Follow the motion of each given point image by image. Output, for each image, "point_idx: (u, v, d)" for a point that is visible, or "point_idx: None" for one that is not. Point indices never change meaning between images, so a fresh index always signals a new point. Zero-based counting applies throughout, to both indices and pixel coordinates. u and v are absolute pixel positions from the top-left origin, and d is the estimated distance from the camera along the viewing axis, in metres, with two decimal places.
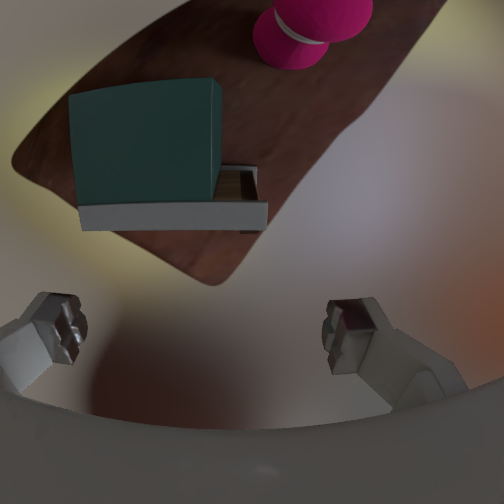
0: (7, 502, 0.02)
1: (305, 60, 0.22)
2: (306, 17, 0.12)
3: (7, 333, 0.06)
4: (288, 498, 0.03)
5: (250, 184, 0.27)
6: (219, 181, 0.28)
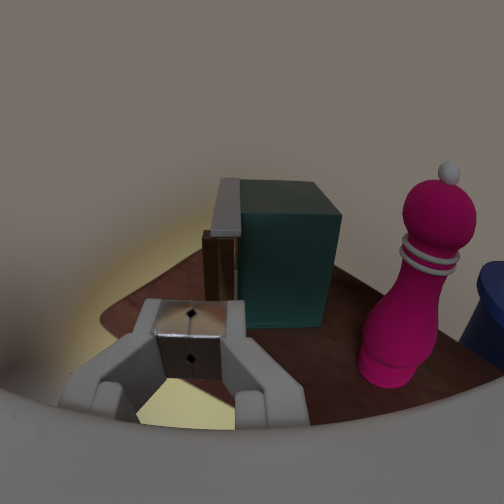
0: (7, 502, 0.02)
1: (384, 323, 0.22)
2: (414, 187, 0.19)
3: (126, 352, 0.06)
4: (288, 498, 0.03)
5: None
6: None
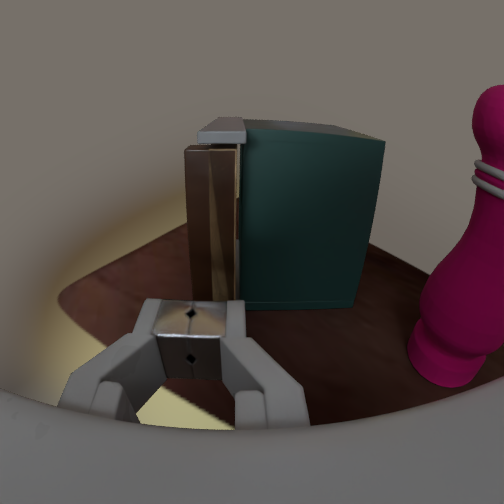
0: (7, 502, 0.02)
1: (459, 289, 0.13)
2: (483, 92, 0.10)
3: (126, 352, 0.06)
4: (288, 498, 0.03)
5: None
6: None
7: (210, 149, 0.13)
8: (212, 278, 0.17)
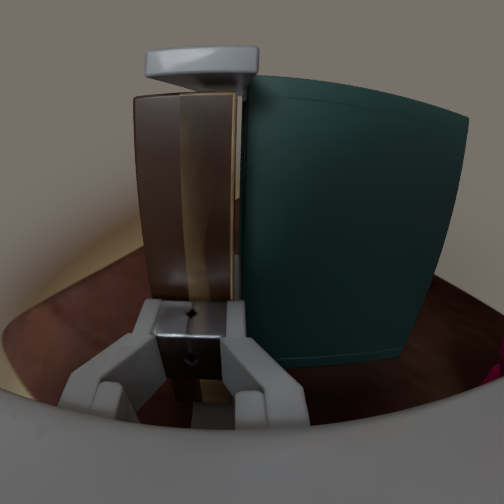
0: (7, 502, 0.02)
1: None
2: None
3: (126, 352, 0.06)
4: (288, 498, 0.03)
5: None
6: None
7: (183, 93, 0.06)
8: None
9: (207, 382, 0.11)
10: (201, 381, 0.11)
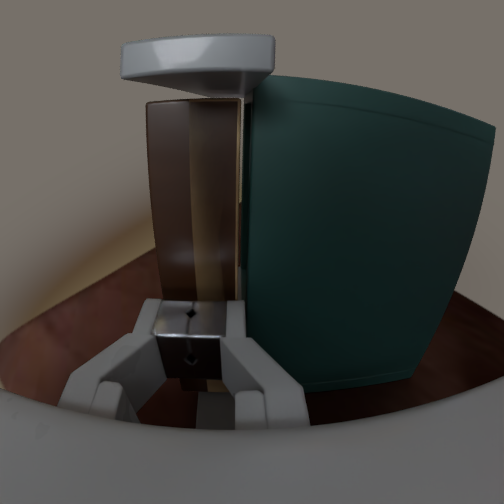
0: (7, 502, 0.02)
1: None
2: None
3: (126, 352, 0.06)
4: (288, 498, 0.03)
5: None
6: None
7: (192, 100, 0.07)
8: None
9: None
10: None
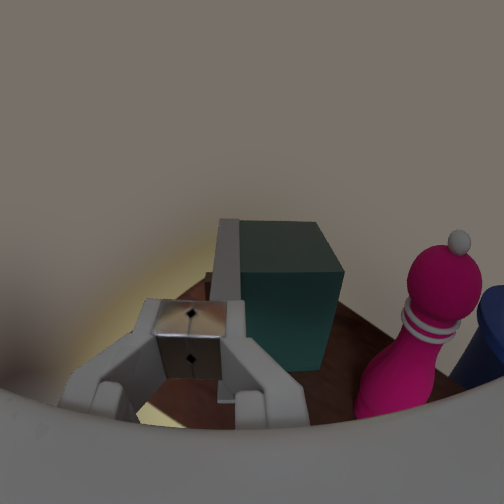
0: (7, 502, 0.02)
1: (381, 381, 0.21)
2: (421, 255, 0.18)
3: (126, 352, 0.06)
4: (288, 498, 0.03)
5: None
6: None
7: None
8: None
9: None
10: None
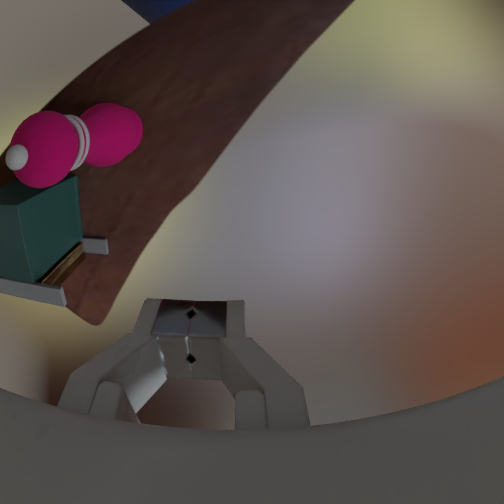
0: (7, 502, 0.02)
1: (102, 163, 0.27)
2: (20, 180, 0.17)
3: (126, 352, 0.06)
4: (288, 498, 0.03)
5: (59, 261, 0.31)
6: None
7: None
8: (70, 264, 0.33)
9: (79, 253, 0.36)
10: (79, 255, 0.36)
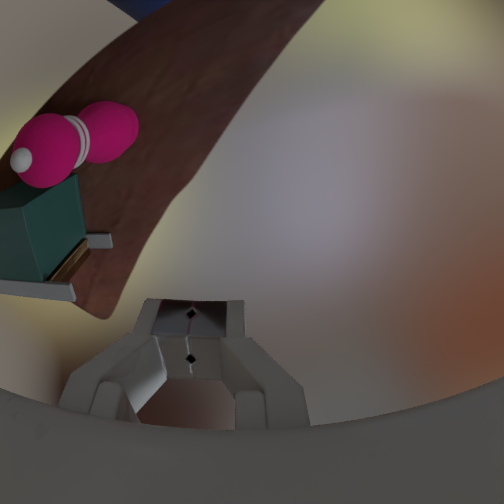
0: (7, 502, 0.02)
1: (102, 159, 0.27)
2: (25, 182, 0.18)
3: (126, 352, 0.06)
4: (288, 498, 0.03)
5: (66, 258, 0.33)
6: None
7: None
8: (76, 261, 0.35)
9: (84, 249, 0.37)
10: (84, 251, 0.37)
